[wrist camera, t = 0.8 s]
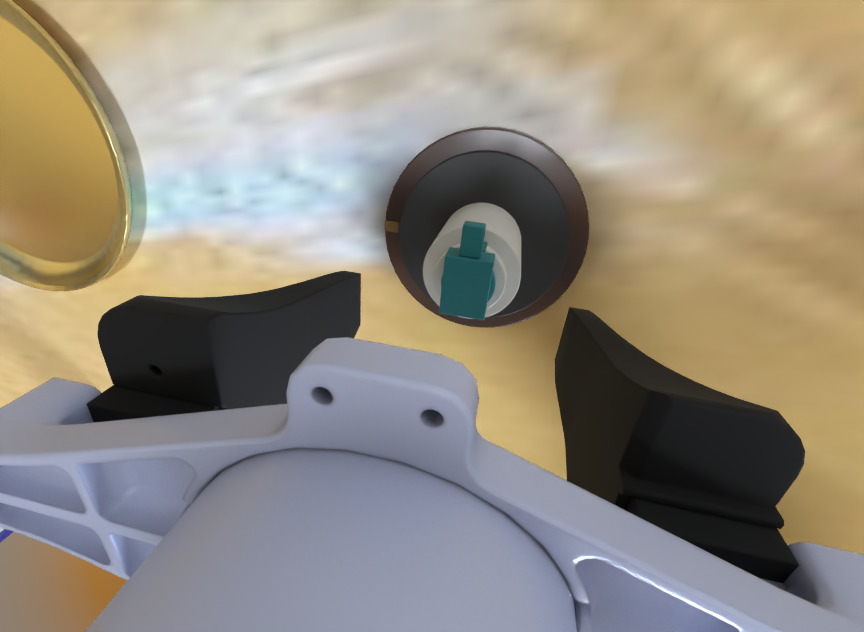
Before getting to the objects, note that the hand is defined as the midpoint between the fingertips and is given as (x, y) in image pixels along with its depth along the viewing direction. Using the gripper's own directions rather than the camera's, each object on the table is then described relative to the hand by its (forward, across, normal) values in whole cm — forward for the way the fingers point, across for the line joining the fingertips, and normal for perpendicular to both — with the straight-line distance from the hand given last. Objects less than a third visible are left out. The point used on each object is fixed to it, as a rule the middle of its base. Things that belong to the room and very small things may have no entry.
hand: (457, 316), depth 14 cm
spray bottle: (+9, 0, 0) cm, 9 cm away
